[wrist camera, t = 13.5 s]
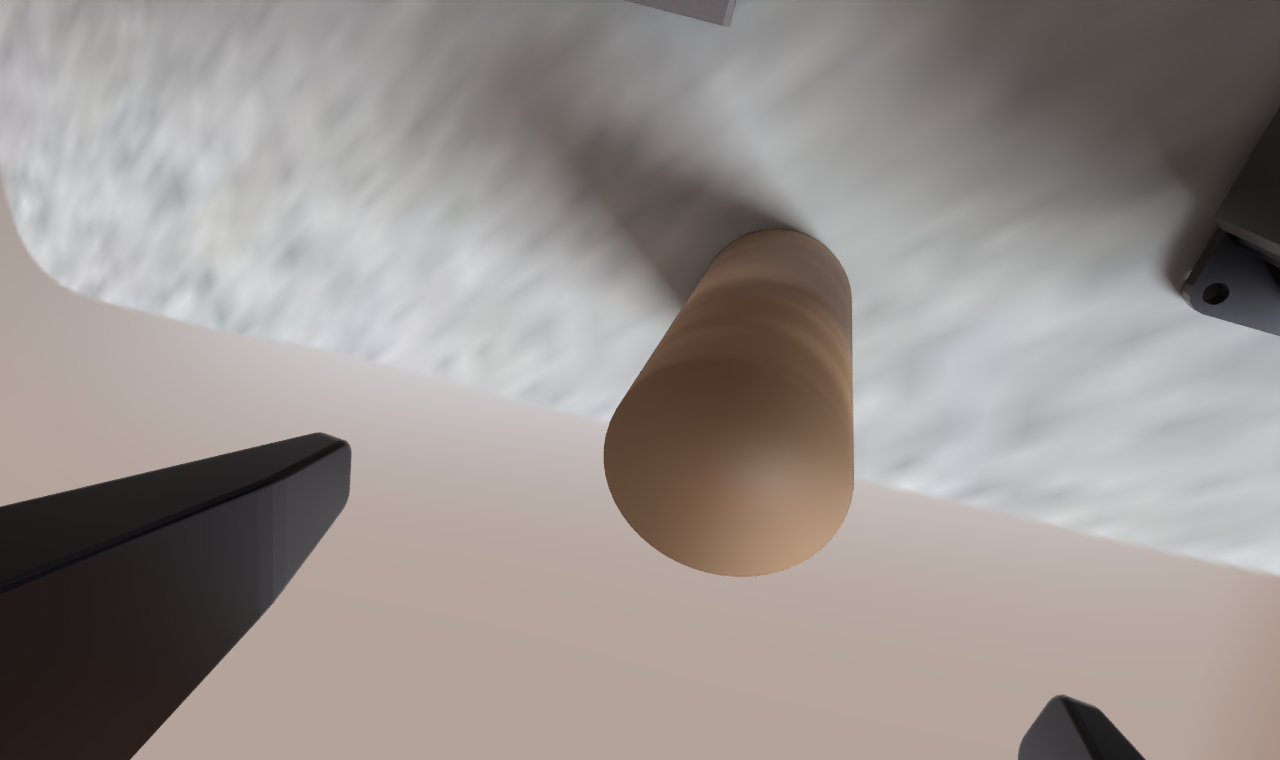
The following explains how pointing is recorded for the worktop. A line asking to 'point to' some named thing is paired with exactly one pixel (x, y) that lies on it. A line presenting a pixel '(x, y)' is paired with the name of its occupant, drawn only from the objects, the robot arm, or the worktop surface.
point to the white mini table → (696, 9)
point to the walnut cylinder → (744, 414)
